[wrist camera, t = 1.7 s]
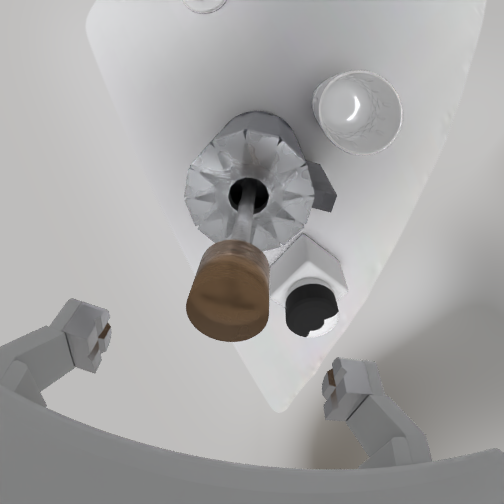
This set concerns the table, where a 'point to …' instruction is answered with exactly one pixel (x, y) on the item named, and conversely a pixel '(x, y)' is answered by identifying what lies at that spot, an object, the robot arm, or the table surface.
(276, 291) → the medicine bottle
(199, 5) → the chess pawn
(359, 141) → the white cup
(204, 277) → the plunger
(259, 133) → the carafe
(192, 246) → the table surface
